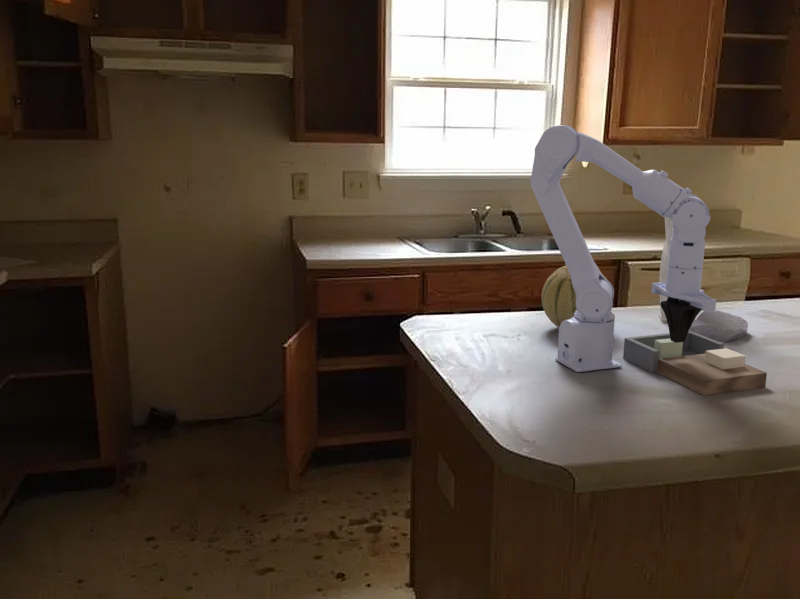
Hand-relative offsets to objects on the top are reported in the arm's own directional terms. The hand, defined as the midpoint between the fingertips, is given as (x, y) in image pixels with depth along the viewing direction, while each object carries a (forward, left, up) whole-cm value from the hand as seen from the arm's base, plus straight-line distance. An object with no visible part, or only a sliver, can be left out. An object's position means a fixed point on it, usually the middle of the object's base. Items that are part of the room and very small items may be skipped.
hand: (677, 341), depth 129 cm
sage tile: (0, +2, -3) cm, 3 cm away
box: (+3, +4, -6) cm, 8 cm away
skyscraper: (+23, +30, -6) cm, 39 cm away
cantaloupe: (-3, +29, -6) cm, 30 cm away
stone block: (+24, +17, -6) cm, 30 cm away
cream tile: (+6, -6, -3) cm, 9 cm away
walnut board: (+3, -6, -6) cm, 8 cm away
